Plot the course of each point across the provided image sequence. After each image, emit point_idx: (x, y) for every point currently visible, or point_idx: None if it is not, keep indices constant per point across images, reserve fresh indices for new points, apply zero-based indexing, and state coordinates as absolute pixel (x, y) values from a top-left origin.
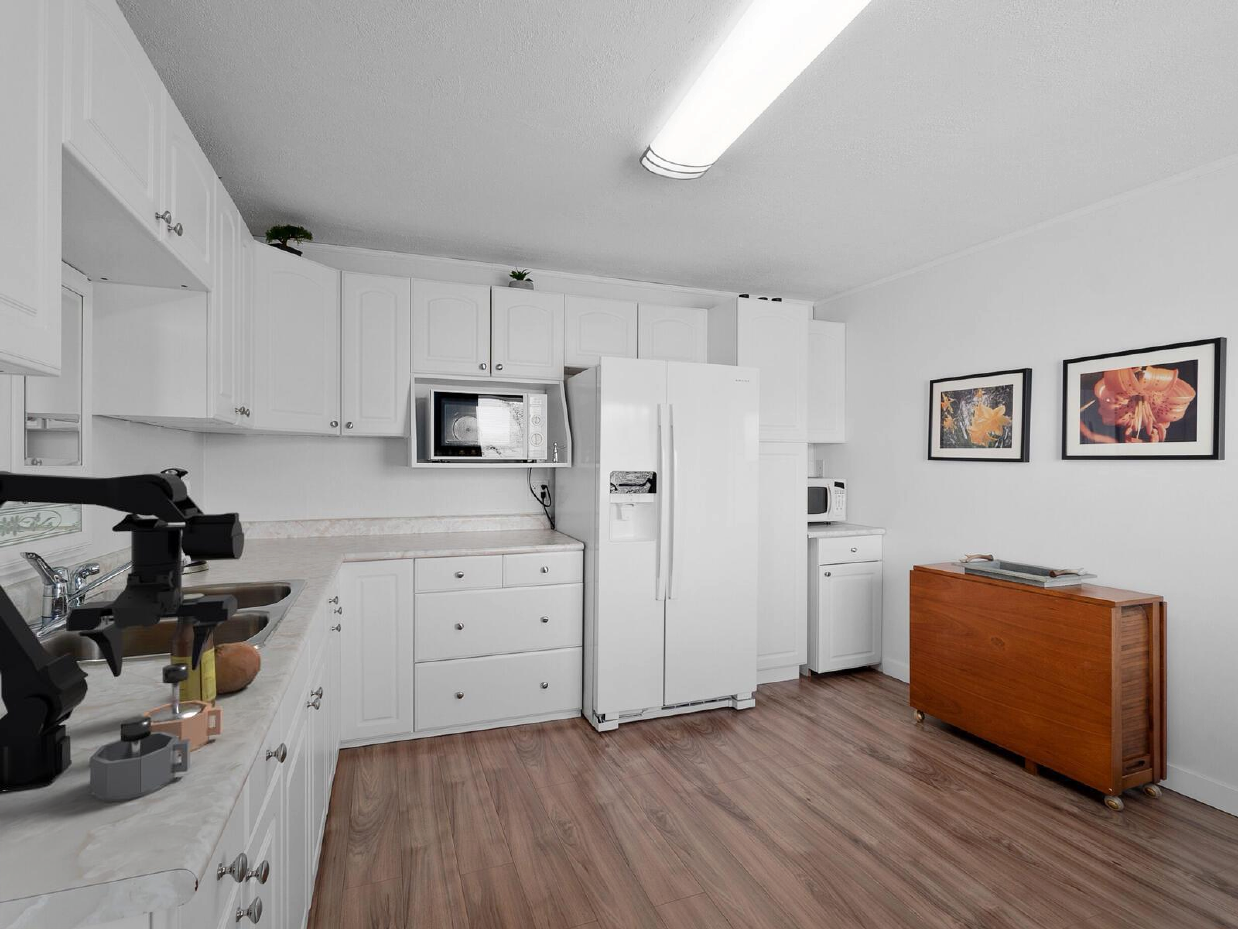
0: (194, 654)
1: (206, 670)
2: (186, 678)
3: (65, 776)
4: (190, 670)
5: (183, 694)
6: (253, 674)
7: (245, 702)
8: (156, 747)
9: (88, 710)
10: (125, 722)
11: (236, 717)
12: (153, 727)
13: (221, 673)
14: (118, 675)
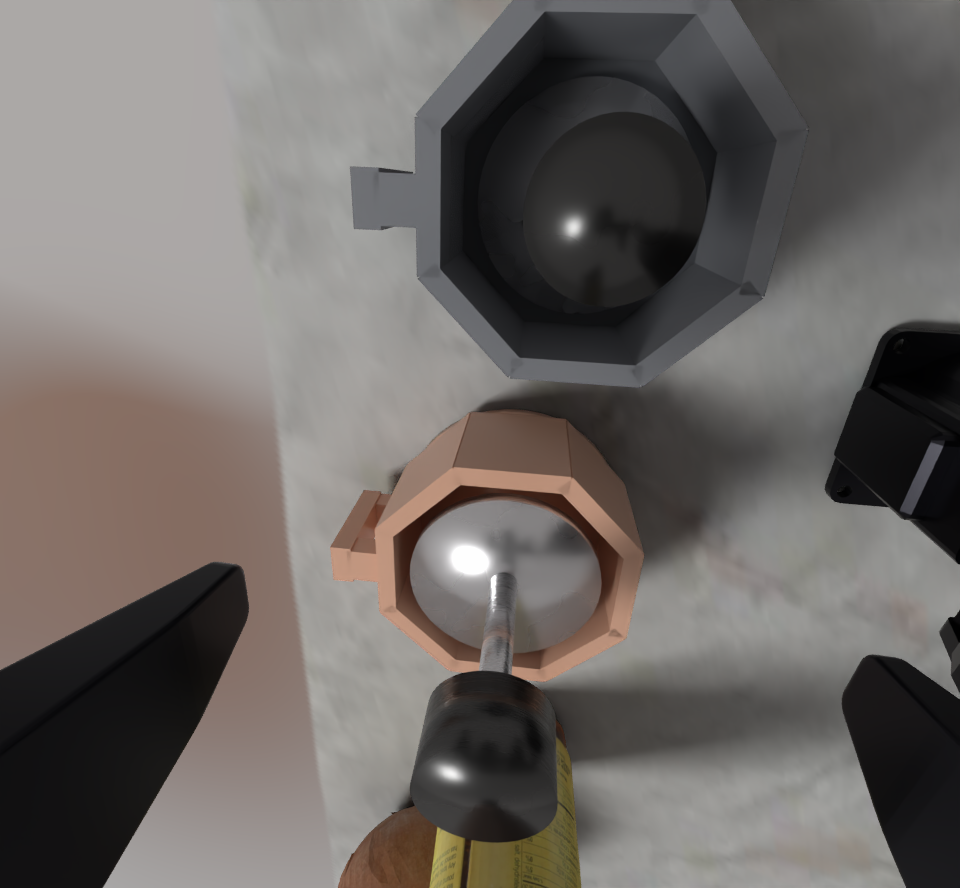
0: (79, 671)
1: (447, 858)
2: (430, 701)
3: (835, 396)
4: (500, 868)
5: None
6: (359, 847)
7: (375, 728)
8: (530, 338)
9: (803, 842)
10: (678, 227)
11: (372, 637)
12: (564, 470)
13: None
14: (862, 673)
